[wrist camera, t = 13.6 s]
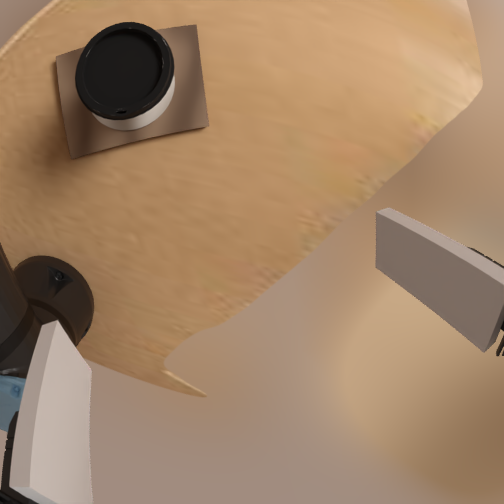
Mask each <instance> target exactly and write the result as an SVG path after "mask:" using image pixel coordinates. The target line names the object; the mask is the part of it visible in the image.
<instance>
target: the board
mask: <svg viewBox="0 0 504 504" xmlns="http://www.w3.org/2000/svg"><path fill="white" fill-rule="evenodd" d="M155 31H157V32H158V33H159V34H161V35H162V36H163V38H164V39H165V40H166V41H167V43H168V45H169V46H170V48H171V51H172V54H173V57H174V66H175V69H174V77H173V80H172V83H171V86H170V88H169V89H168V91H167V93H166V95H165V96H164V97H163V98H162V100H161V101H160V102H159V103H158V104H157V105H156V106H154V107H153V108H152V109H151V110H149V111H147V112H146V113H144V114H142V115H140V116H137V117H135V118H131V119H127V120H110V119H104V118H102V117H99V116H97V115H95V114H94V113H92V112H91V111H89V110H88V109H87V108H86V106H85V105H84V104H83V103H82V101H81V99H80V98H79V96H78V93H77V90H76V85H75V72H76V67H77V64H78V61H79V58H80V55H81V53H82V52H83V50H84V48H85V47H83V48H80V49H77V50H74V51H71V52H68V53H65V54H62V55H59V56H56V64H57V75H58V84H59V92H60V100H61V107H62V113H63V119H64V125H65V131H66V136H67V141H68V146H69V151H70V156H71V159H74V158H77V157H81V156H84V155H87V154H90V153H94V152H97V151H101V150H104V149H108V148H111V147H115V146H119V145H123V144H127V143H131V142H135V141H139V140H143V139H147V138H151V137H156V136H160V135H165V134H170V133H175V132H180V131H185V130H190V129H196V128H201V127H207V126H209V120H208V113H207V106H206V98H205V91H204V83H203V75H202V68H201V60H200V51H199V43H198V35H197V26H196V25H188V26H180V27H173V28H166V29H160V30H155Z"/></svg>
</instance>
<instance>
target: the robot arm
mask: <svg viewBox="0 0 504 504" xmlns="http://www.w3.org/2000/svg"><path fill="white" fill-rule="evenodd" d="M376 268H377V269H379V270H380V271H381V272H383V273H384V274H385V275H387V276H388V277H389V278H391V279H392V280H393V281H395V282H396V283H397V284H399V285H400V286H401V287H403V288H404V289H405V290H407V291H408V292H409V293H410V294H412V295H413V296H414V297H416V298H417V299H418V300H420V301H421V302H422V303H423V304H425V305H426V306H427V307H429V308H430V309H431V310H432V311H434V312H435V313H436V314H437V315H439V316H440V317H441V318H442V319H444V320H445V321H446V322H448V323H449V324H450V325H451V326H452V327H454V328H455V329H456V330H457V331H459V332H460V333H461V334H462V335H463V336H465V337H466V338H467V339H468V340H469V341H471V342H472V343H473V344H474V345H475V346H477V347H478V348H479V349H480V350H481V351H482V352H485V351H486V350H487V349H489V348H490V347H491V346H492V345H493V344H494V343H495V341H496V339H497V336H498V334H499V332H500V329H501V330H503V331H504V266H502V265H501V264H499V263H497V262H496V261H492V259H490V258H489V257H487V256H484V254H482V253H480V252H478V251H477V250H475V249H473V248H469V247H466V246H464V245H462V244H460V243H458V242H457V241H455V240H453V239H451V238H449V237H447V236H445V235H443V234H442V233H440V232H438V231H436V230H434V229H432V228H430V227H428V226H426V225H424V224H422V223H420V222H418V221H416V220H414V219H412V218H410V217H408V216H406V215H404V214H402V213H400V212H397V211H396V210H394V209H391V208H389V207H388V208H386V209H383V210H380V211H377V212H376ZM93 313H94V299H93V295H92V292H91V289H90V287H89V285H88V283H87V282H86V280H85V279H84V278H83V276H82V275H81V274H80V273H79V272H78V271H77V270H76V269H75V268H74V267H72V266H71V265H69V264H68V263H66V262H64V261H62V260H60V259H57V258H54V257H50V256H34V257H30V258H28V259H26V260H24V261H22V262H21V263H20V264H19V265H18V266H17V267H16V268H15V269H14V271H13V270H12V268H11V266H10V264H9V262H8V259H7V257H6V255H5V253H4V250H3V248H2V246H1V243H0V429H1V430H4V431H6V432H8V434H7V439H8V440H6V446H5V449H6V451H5V453H4V461H3V471H2V481H1V482H2V483H1V490H0V504H93V497H92V484H91V468H90V435H89V434H90V429H89V428H90V423H89V422H90V392H91V376H92V370H91V369H90V367H89V366H88V365H87V363H86V362H85V360H84V359H83V358H82V356H81V355H80V353H79V352H78V350H77V349H76V346H77V345H78V344H79V342H80V341H81V339H82V338H83V337H84V336H85V335H86V333H87V332H88V330H89V328H90V326H91V323H92V318H93ZM503 347H504V336H503V338H502V340H501V343H500V345H499V347H498V349H497V351H496V356H499V355H500V352H501V351H502V348H503ZM502 356H504V351H503V354H502Z"/></svg>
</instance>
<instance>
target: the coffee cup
mask: <svg viewBox="0 0 504 504" xmlns="http://www.w3.org/2000/svg"><path fill="white" fill-rule="evenodd" d="M174 69H175V66H174V57H173V54H172V51H171V48H170V46H169V45H168V43H167V41H166V40H165V39H164V38H163V36H162V35H161V34H159V33H158V32H157V31H155V30H154V29H152V28H151V27H149V26H146V25H144V24H140V23H135V22H123V23H119V24H115V25H112V26H110V27H107V28H105V29H104V30H102V31H101V32H99V33H98V34H96V35H95V36H94V37H93V38H92V39H91V40H90V41H89V43H88V44H87V45H86V46H85V48H84V50H83V52H82V53H81V55H80V58H79V61H78V64H77V67H76V72H75V85H76V90H77V93H78V96H79V98H80V99H81V101H82V103H83V104H84V105H85V106H86V108H87V109H88V110H89V111H91V112H92V113H94V114H95V115H97V116H99V117H102V118H104V119H110V120H127V119H131V118H135V117H137V116H140V115H142V114H144V113H146V112H147V111H149V110H151V109H152V108H153V107H154V106H156V105H157V104H158V103H159V102H160V101H161V100H162V98H163V97H164V96H165V95H166V93H167V91H168V89H169V88H170V86H171V83H172V80H173V77H174Z"/></svg>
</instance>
